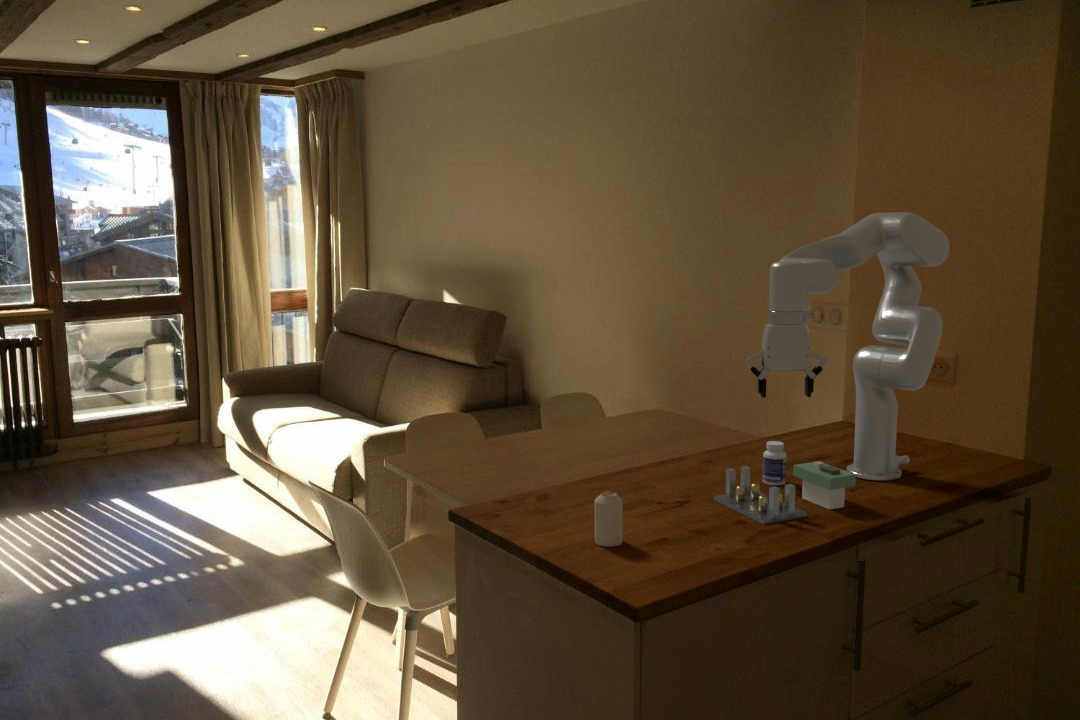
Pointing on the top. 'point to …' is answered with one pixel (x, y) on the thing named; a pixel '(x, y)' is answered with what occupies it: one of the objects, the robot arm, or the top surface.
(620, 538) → the candle
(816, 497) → the block
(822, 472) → the board
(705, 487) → the top surface
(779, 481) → the pill bottle
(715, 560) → the top surface
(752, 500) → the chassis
